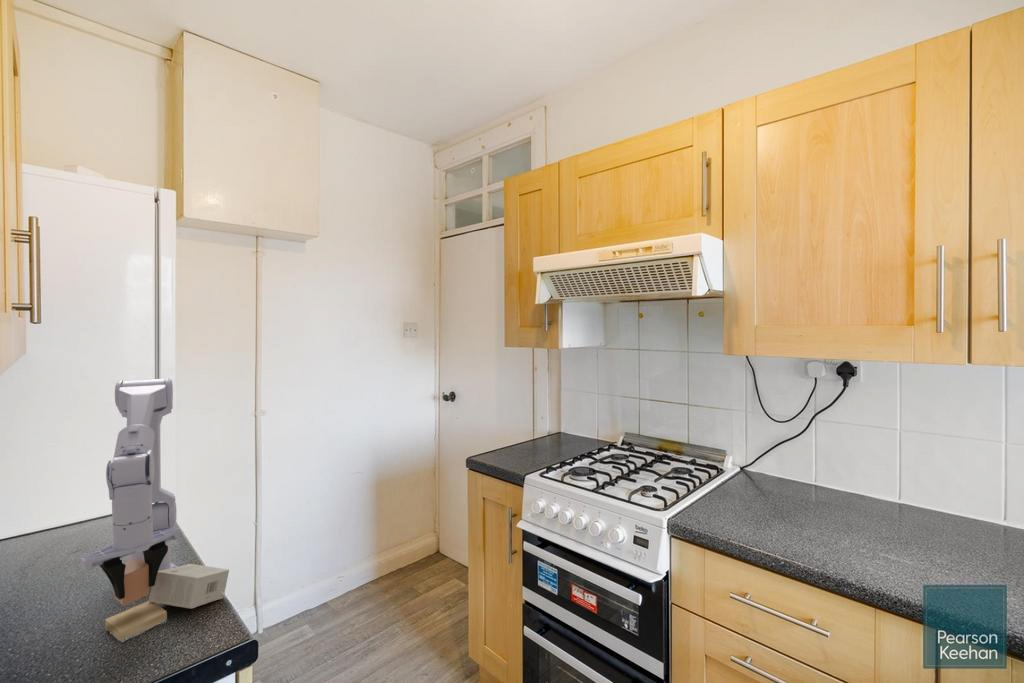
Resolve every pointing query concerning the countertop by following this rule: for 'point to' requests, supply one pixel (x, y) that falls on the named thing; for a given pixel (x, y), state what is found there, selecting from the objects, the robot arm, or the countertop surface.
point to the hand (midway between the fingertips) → (135, 590)
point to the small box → (189, 585)
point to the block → (135, 581)
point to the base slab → (135, 620)
